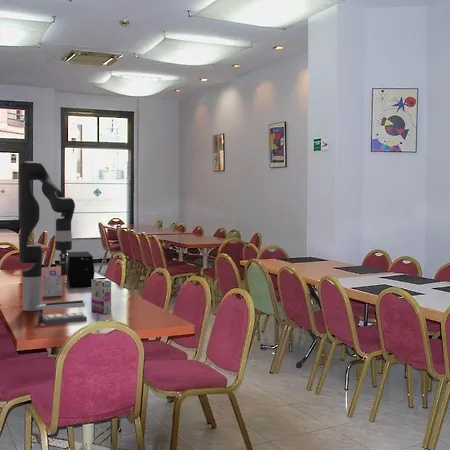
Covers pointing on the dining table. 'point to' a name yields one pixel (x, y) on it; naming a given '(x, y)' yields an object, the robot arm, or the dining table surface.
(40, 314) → the pivot post
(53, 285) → the ink cartridge box
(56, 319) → the label panel
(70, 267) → the uninterruptible power supply
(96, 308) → the candy bar box
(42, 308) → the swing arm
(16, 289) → the dining table surface
